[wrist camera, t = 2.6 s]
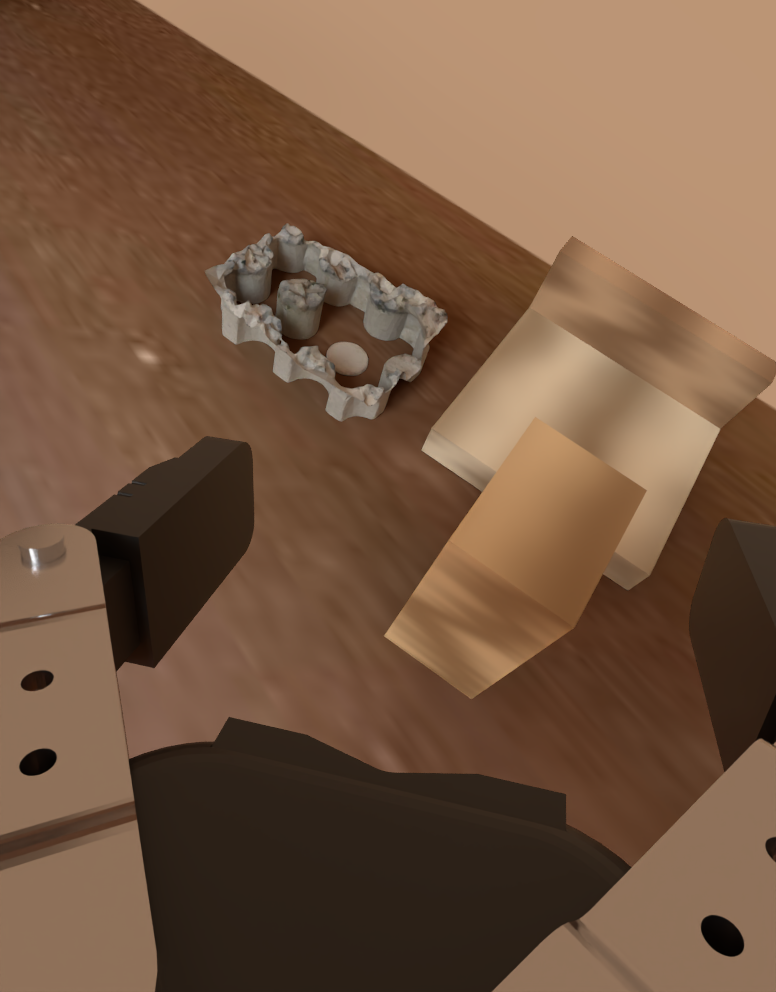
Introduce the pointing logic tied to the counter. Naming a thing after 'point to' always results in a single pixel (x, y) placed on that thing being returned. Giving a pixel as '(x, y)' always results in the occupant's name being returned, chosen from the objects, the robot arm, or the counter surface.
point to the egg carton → (301, 311)
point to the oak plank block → (518, 562)
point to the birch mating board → (607, 392)
